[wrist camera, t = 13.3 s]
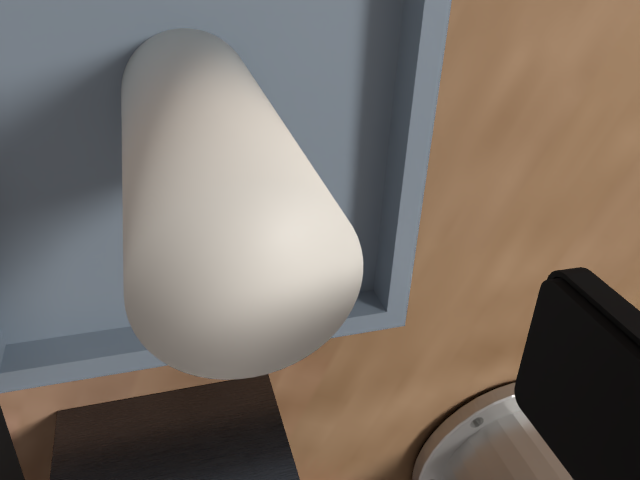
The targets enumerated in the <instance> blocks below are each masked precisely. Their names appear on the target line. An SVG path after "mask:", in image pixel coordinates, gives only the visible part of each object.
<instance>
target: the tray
mask: <svg viewBox="0 0 640 480" xmlns="http://www.w3.org/2000/svg"><path fill="white" fill-rule="evenodd" d="M451 1H452V0H0V393H4V392H10V391H16V390H22V389H28V388H34V387H40V386H46V385H52V384H58V383H64V382H70V381H76V380H82V379H88V378H94V377H100V376H106V375H112V374H118V373H124V372H130V371H136V370H142V369H148V368H154V367H160V366H166V365H167V364H165V363H164V362H162V361H160V360H159V359H158V358H156V357H155V356H154V355H153V354H151V353H150V352H149V351H148V350H147V349H146V348H145V347H144V345H143V344H142V343H141V342H140V341H139V339H138V338H137V336H136V335H135V333H134V332H133V330H132V327H131V325H130V323H129V321H128V318H127V314H126V310H125V304H124V288H123V203H122V118H121V84H122V77H123V73H124V70H125V67H126V64H127V63H128V61H129V59H130V57H131V56H132V54H133V53H134V52H135V50H136V49H137V48H138V47H139V46H140V45H141V44H142V43H144V42H145V41H146V40H148V39H149V38H151V37H153V36H154V35H156V34H159V33H161V32H164V31H167V30H172V29H179V28H190V29H197V30H202V31H205V32H208V33H210V34H213V35H215V36H217V37H218V38H220V39H222V40H223V41H225V42H226V43H227V44H228V45H229V46H231V47H232V48H233V50H234V51H235V52H236V53H237V54H238V55H239V57H240V58H241V60H242V61H243V63H244V64H245V66H246V67H247V69H248V70H249V72H250V73H251V75H252V76H253V78H254V79H255V81H256V82H257V84H258V85H259V87H260V88H261V90H262V91H263V93H264V94H265V96H266V97H267V99H268V100H269V102H270V103H271V105H272V106H273V108H274V109H275V111H276V112H277V114H278V115H279V117H280V118H281V120H282V121H283V123H284V124H285V126H286V127H287V129H288V130H289V132H290V133H291V135H292V136H293V138H294V139H295V141H296V142H297V144H298V145H299V147H300V148H301V150H302V151H303V153H304V154H305V156H306V157H307V159H308V160H309V162H310V163H311V165H312V166H313V168H314V169H315V171H316V172H317V174H318V175H319V177H320V178H321V180H322V181H323V183H324V184H325V186H326V187H327V189H328V190H329V192H330V193H331V195H332V196H333V198H334V199H335V201H336V202H337V204H338V205H339V207H340V208H341V210H342V211H343V213H344V214H345V216H346V217H347V219H348V220H349V222H350V223H351V225H352V226H353V228H354V230H355V232H356V234H357V236H358V239H359V242H360V246H361V249H362V256H363V277H362V284H361V288H360V291H359V294H358V298H357V300H356V302H355V304H354V307H353V309H352V311H351V312H350V314H349V315H348V317H347V319H346V320H345V322H344V323H343V324H342V326H341V327H340V328H339V329H338V331H337V332H336V333H335V334H334V335H333V336H332V337H331V338H334V337H340V336H346V335H352V334H358V333H364V332H370V331H376V330H382V329H388V328H394V327H400V326H405V321H406V314H407V307H408V300H409V293H410V286H411V279H412V272H413V265H414V258H415V251H416V244H417V237H418V230H419V223H420V216H421V210H422V203H423V196H424V189H425V182H426V175H427V168H428V161H429V154H430V147H431V140H432V133H433V126H434V119H435V112H436V105H437V98H438V91H439V84H440V78H441V71H442V64H443V57H444V50H445V43H446V36H447V29H448V22H449V15H450V8H451Z"/></svg>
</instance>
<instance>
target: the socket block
mask: <svg viewBox="0 0 640 480" xmlns="http://www.w3.org/2000/svg"><path fill="white" fill-rule="evenodd" d="M50 480H300V479H299V476H298V472H297V469H296V466H295V462H294V459H293V456H292V452H291V449H290V446H289V442H288V439H287V436H286V432H285V429H284V426H283V422H282V419H281V416H280V412H279V409H278V406H277V402H276V399H275V396H274V392H273V389H272V386H271V382H270V379H269V376H268V374H266V375H261V376H257V377H252V378H244V379H237V380H231V381H225V382H220V383H214V384H209V385H203V386H197V387H192V388H186V389H180V390H175V391H169V392H164V393H158V394H152V395H147V396H141V397H135V398H130V399H124V400H119V401H113V402H107V403H102V404H96V405H91V406H85V407H79V408H74V409H68V410H62V411H57V420H56V429H55V438H54V447H53V455H52V464H51V473H50Z"/></svg>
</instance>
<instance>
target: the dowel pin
mask: <svg viewBox="0 0 640 480" xmlns="http://www.w3.org/2000/svg"><path fill="white" fill-rule="evenodd" d="M121 118H122V203H123V288H124V304H125V310H126V314H127V318H128V321H129V323H130V325H131V327H132V330H133V332H134V333H135V335H136V336H137V338H138V339H139V341H140V342H141V343H142V344H143V345H144V347H145V348H146V349H147V350H148V351H149V352H150V353H151V354H153V355H154V356H155V357H156V358H158V359H159V360H160V361H162V362H164V363H165V364H167V365H169V366H170V367H172V368H175V369H177V370H179V371H182V372H184V373H187V374H191V375H194V376H198V377H204V378H210V379H222V380H230V379H244V378H252V377H257V376H261V375H266V374H269V373H272V372H275V371H278V370H281V369H283V368H286V367H288V366H290V365H293V364H295V363H296V362H298V361H300V360H302V359H304V358H306V357H307V356H309V355H310V354H311V353H313V352H314V351H316V350H317V349H318V348H320V347H321V346H322V345H323V344H324V343H326V342H327V341H328V340H329V339H330V338H331V337H332V336H333V335H334V334H335V333H336V332H337V331H338V329H339V328H340V327H341V326H342V324H343V323H344V322H345V320H346V319H347V317H348V315H349V314H350V312H351V311H352V309H353V307H354V304H355V302H356V300H357V298H358V294H359V291H360V288H361V284H362V277H363V256H362V249H361V246H360V242H359V239H358V236H357V234H356V232H355V230H354V228H353V226H352V225H351V223H350V222H349V220H348V219H347V217H346V216H345V214H344V213H343V211H342V210H341V208H340V207H339V205H338V204H337V202H336V201H335V199H334V198H333V196H332V195H331V193H330V192H329V190H328V189H327V187H326V186H325V184H324V183H323V181H322V180H321V178H320V177H319V175H318V174H317V172H316V171H315V169H314V168H313V166H312V165H311V163H310V162H309V160H308V159H307V157H306V156H305V154H304V153H303V151H302V150H301V148H300V147H299V145H298V144H297V142H296V141H295V139H294V138H293V136H292V135H291V133H290V132H289V130H288V129H287V127H286V126H285V124H284V123H283V121H282V120H281V118H280V117H279V115H278V114H277V112H276V111H275V109H274V108H273V106H272V105H271V103H270V102H269V100H268V99H267V97H266V96H265V94H264V93H263V91H262V90H261V88H260V87H259V85H258V84H257V82H256V81H255V79H254V78H253V76H252V75H251V73H250V72H249V70H248V69H247V67H246V66H245V64H244V63H243V61H242V60H241V58H240V57H239V55H238V54H237V53H236V52H235V51H234V50H233V48H232V47H231V46H229V45H228V44H227V43H226V42H225V41H223V40H222V39H220V38H218V37H217V36H215V35H213V34H210V33H208V32H205V31H202V30H197V29H190V28H179V29H172V30H167V31H164V32H161V33H159V34H156V35H154V36H153V37H151V38H149V39H148V40H146V41H145V42H144V43H142V44H141V45H140V46H139V47H138V48H137V49H136V50H135V52H134V53H133V54H132V56H131V57H130V59H129V61H128V63H127V64H126V67H125V70H124V73H123V77H122V84H121Z"/></svg>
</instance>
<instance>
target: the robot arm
mask: <svg viewBox="0 0 640 480" xmlns="http://www.w3.org/2000/svg"><path fill="white" fill-rule="evenodd" d="M0 480H25V479H24V476H23V473H22V470H21V467H20V464H19V461H18V458H17V455H16V452H15V449H14V446H13V443H12V440H11V437H10V434H9V431H8V428H7V425H6V422H5V419H4V416H3V412H2V409H1V406H0ZM413 480H640V311H639V310H638V309H636V308H635V307H634V306H633V305H632V304H630V303H629V302H628V301H627V300H625V299H624V298H623V297H622V296H621V295H619V294H618V293H617V292H616V291H614V290H613V289H612V288H611V287H610V286H608V285H607V284H606V283H605V282H603V281H602V280H601V279H600V278H599V277H597V276H596V275H595V274H594V273H592V272H591V271H590V270H588V269H586V268H582V267H580V268H572V269H565V270H557V271H554V272H552V273H551V274H550V275H549V276H548V278H547V280H545V281H544V282H543V283H542V285H541V287H540V291H539V294H538V298H537V302H536V306H535V310H534V314H533V318H532V321H531V325H530V329H529V333H528V337H527V341H526V345H525V348H524V352H523V356H522V360H521V364H520V368H519V372H518V375H517V379H516V383H511V384H508V385H505V386H502V387H499V388H496V389H494V390H491V391H489V392H487V393H485V394H483V395H481V396H479V397H477V398H475V399H474V400H472V401H470V402H469V403H467V404H466V405H464V406H462V407H461V408H460V409H458V410H457V411H456V412H455V413H453V414H452V415H451V416H450V417H448V418H447V419H446V420H445V421H444V422H443V423H442V424H441V425H440V426H439V427H438V428H437V429H436V430H435V431H434V432H433V433H432V435H431V436H430V437H429V439H428V440H427V441H426V443H425V444H424V446H423V447H422V449H421V451H420V453H419V455H418V457H417V459H416V462H415V466H414V469H413Z"/></svg>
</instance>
